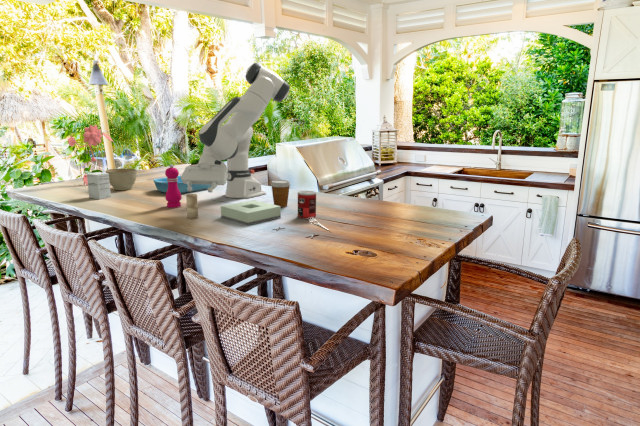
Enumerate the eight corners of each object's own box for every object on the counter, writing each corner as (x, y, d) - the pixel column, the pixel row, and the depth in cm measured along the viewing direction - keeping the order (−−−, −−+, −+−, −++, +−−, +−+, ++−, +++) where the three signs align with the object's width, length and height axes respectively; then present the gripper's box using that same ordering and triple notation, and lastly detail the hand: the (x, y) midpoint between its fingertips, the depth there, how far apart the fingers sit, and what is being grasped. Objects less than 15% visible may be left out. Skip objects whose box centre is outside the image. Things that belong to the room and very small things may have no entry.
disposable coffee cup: (266, 205, 208) (266, 181, 205) (281, 203, 215) (281, 179, 212) (279, 209, 202) (279, 183, 199) (294, 206, 208) (294, 181, 206)
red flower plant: (69, 186, 248) (62, 124, 240) (108, 180, 271) (104, 124, 262) (86, 189, 242) (80, 126, 233) (125, 183, 264) (121, 125, 256)
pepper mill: (177, 208, 199) (174, 165, 194) (162, 207, 200) (160, 164, 196) (184, 205, 206) (182, 163, 201) (171, 204, 207) (168, 163, 202)
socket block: (253, 210, 197) (253, 200, 196) (280, 217, 186) (280, 206, 184) (221, 217, 184) (220, 206, 183) (247, 225, 172) (247, 213, 171)
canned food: (297, 214, 191) (297, 190, 188) (315, 214, 192) (315, 190, 189) (297, 219, 184) (298, 193, 181) (316, 219, 184) (316, 193, 182)
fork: (328, 235, 163) (328, 230, 163) (307, 221, 180) (307, 217, 180) (336, 234, 164) (336, 229, 164) (314, 221, 182) (314, 216, 181)
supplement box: (88, 198, 218) (85, 173, 215) (100, 195, 224) (98, 171, 221) (99, 199, 215) (96, 174, 212) (111, 197, 222) (109, 172, 219)
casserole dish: (197, 183, 267) (196, 172, 265) (223, 187, 255) (223, 175, 254) (145, 192, 237) (144, 179, 235) (172, 197, 225) (171, 183, 223)
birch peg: (194, 216, 185) (193, 193, 183) (200, 217, 182) (199, 194, 180) (185, 217, 182) (184, 194, 180) (191, 219, 179) (189, 196, 177)
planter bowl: (131, 191, 236) (129, 172, 233) (101, 191, 236) (99, 171, 233) (143, 186, 251) (141, 168, 249) (115, 186, 252) (113, 167, 249)
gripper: (183, 160, 191) (174, 185, 184) (227, 162, 187) (219, 188, 180) (189, 169, 196) (180, 194, 189) (231, 171, 193) (223, 196, 186)
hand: (199, 191), depth 185 cm, fingers open, 8 cm apart
